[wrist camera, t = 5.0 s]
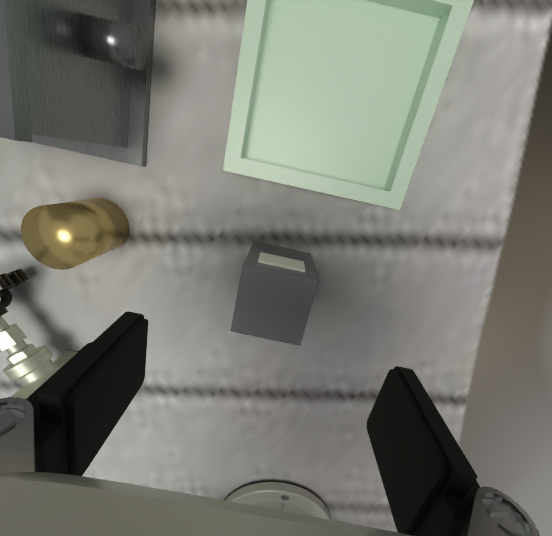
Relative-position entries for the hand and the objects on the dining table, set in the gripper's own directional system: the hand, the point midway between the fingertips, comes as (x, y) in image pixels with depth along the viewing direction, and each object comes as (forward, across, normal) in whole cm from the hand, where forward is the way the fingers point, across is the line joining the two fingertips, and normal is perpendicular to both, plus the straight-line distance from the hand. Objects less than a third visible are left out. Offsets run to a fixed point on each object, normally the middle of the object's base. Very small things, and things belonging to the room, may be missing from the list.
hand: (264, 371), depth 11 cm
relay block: (+13, 0, +1) cm, 13 cm away
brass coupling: (+13, +14, 0) cm, 19 cm away
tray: (+13, -1, -12) cm, 18 cm away
